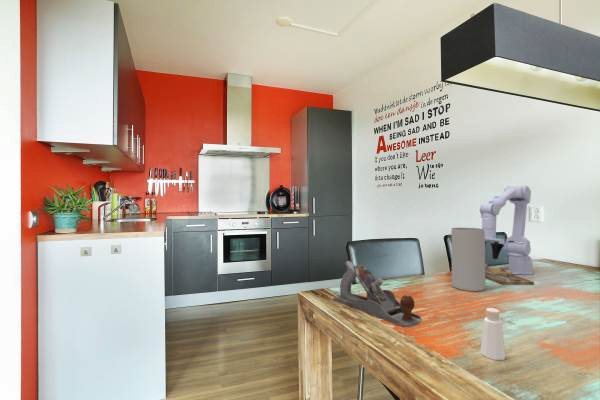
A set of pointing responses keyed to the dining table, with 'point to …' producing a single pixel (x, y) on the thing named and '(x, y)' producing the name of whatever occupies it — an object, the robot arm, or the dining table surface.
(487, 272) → the trammel
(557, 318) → the dining table surface
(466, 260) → the cylinder vase
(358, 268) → the hand plane
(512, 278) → the slide rail board
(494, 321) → the salt shaker
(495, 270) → the block
